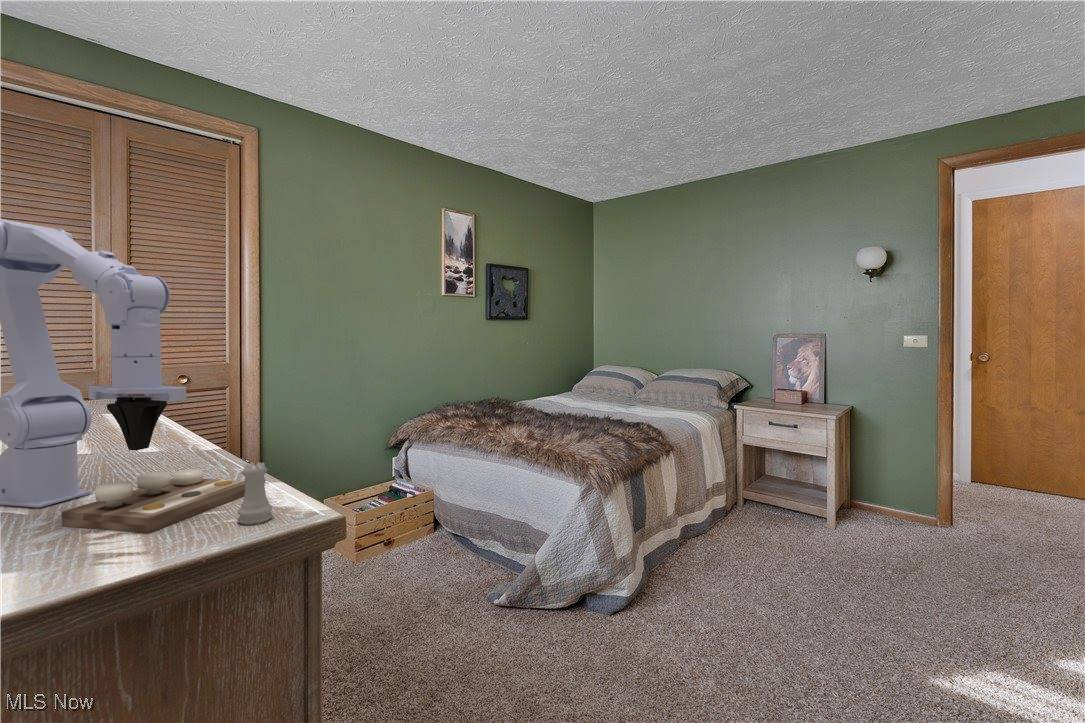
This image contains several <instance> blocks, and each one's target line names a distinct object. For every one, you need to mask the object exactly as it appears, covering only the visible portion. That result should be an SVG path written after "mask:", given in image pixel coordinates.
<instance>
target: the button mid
mask: <svg viewBox="0 0 1085 723" xmlns="http://www.w3.org/2000/svg"><path fill="white" fill-rule="evenodd" d="M170 480H171V471H162V470H161V471H151V472H145V473H142V474H139V475H137V476H136V484H137V486H136V489H147V494H148V495H153V494H159V493H161V492H162V487H163V486H166V485H169V484H170Z"/></svg>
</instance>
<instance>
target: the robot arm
mask: <svg viewBox="0 0 1085 723" xmlns="http://www.w3.org/2000/svg"><path fill="white" fill-rule="evenodd" d="M64 267H65V268H66V269H69V270H70V271H71V276H72V278H73V279H74V281H75V282H76V283H78V285H81V286H82V287H84V288H85V289H86V290H89V291H90V292H92V293H94V294H95V295H96V296H97V297H98V301H99V304H100V305H101V307H102V309H103V311H104V320H105V321H106V324H107V325H110V326H109V328H110V362H111V364H110V365H111V368H110V370H111V373H110V374H111V385H108V384H107V385H91V386H88V400H115V402H113V403H107V404H106V409H107V411H108V412H109V413H110V414H111V416H112V417H114V419H115V421H116V423H117V424H118V426H119V428H120V431H121V433H122V435H123V438H124V441H125V444H126V446H127V449H128V451H140V450H145V449H149V448H150V444H151V441H152V438H153V434H154V430H155V427H156V425H157V423H158V420H159V418H160V416H161V415H162V413H163V411H164V410H165V409H166V408H167V406H168V401H169V402H180V401H181V402H182V401H187V400H188V399H187V387H186V386H174V385H173V386H172V385H163V380H162V378H163V377H162V342H161V341H162V339H161V338H162V337H161V336H162V335H161V334H162V333H161V314H163V313H164V312H166V310H167V308H168V307H169V304H170V301H171V291H170V288H169V286H168V284H167V283H166V282H165V280H164V279H162V278H161V277H160V276H158V275H143V274H142V273H139V272H138V271H137V269H136V267H134V266H132V265H130V264H129V265H127V264H125V263H123V262H122V261H119V260H117V259H116V254H115V253H113V252H111V251H106V250H99V251H97V250H96V251H89V250H88V249H86V248H85V247H83V246H82V245H81V244H80V243H78V242H77V241H75V240H74V237H73V234H72V233H71V232H67V231H66V230H65V229H62V228H58V227H54V228H53V227H48V226H41V225H36V224H30V223H24V222H19V221H13V220H8V219H3V218H0V326H1V331H2V336H3V340H4V345H5V348H6V351H7V356H8V360H9V365H10V368H11V372H12V376H13V382H14V386H13V387H12V388H10V389H9V390H8V391H6V392H5V393H3V394H2V395H0V441H1V442H2V443H3V444H4V445H6V446H7V448H6V449H4V450H3V451H2V452H1V453H0V504H1V505H2V506H11V507H27V508H43V507H47V506H50V505H55V504H58V503H61V502H64V501H69V500H72V499H75V498H80V497H83V496H87V495H90V494H94V490H93V489H85V488H84V489H83V488H82V489H81V488H79V468H78V466H79V465H78V464H79V461H78V441H83V436H84V435H86V434H87V433H88V431H89V429H90V427H91V426H92V421H93V419H92V411H91V409H90V407H89V406H88V404H86V403H87V402H85V399H84V397H83V395H82V392H81V390H80V389H79V388H77V387H75V386H74V385H71V384H69V383H68V382H65V381H64V380H62V379H61V377H60V373H59V370H58V369H59V368H58V366H57V365H58V364H57V361H56V358H55V354H54V349H53V345H52V341H51V336H50V333H49V329H48V325H47V320H46V317H45V314H44V313H45V312H44V309H43V305H42V304H43V303H42V300H41V297H40V292H39V288H40V286H41V285H44V284H48V283H51V282H53V280H54V279H56V277H57V276H58V274H59V273H60V272H61V271H62V270H63V268H64ZM1 505H0V506H1Z"/></svg>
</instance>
